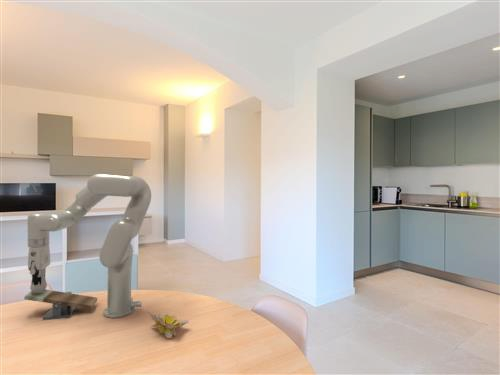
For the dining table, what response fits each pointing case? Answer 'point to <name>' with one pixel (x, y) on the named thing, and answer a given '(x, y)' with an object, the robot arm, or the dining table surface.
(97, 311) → the dining table surface
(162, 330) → the decorative flower
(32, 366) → the dining table surface
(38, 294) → the balance beam
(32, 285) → the salt shaker
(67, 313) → the beam stand
